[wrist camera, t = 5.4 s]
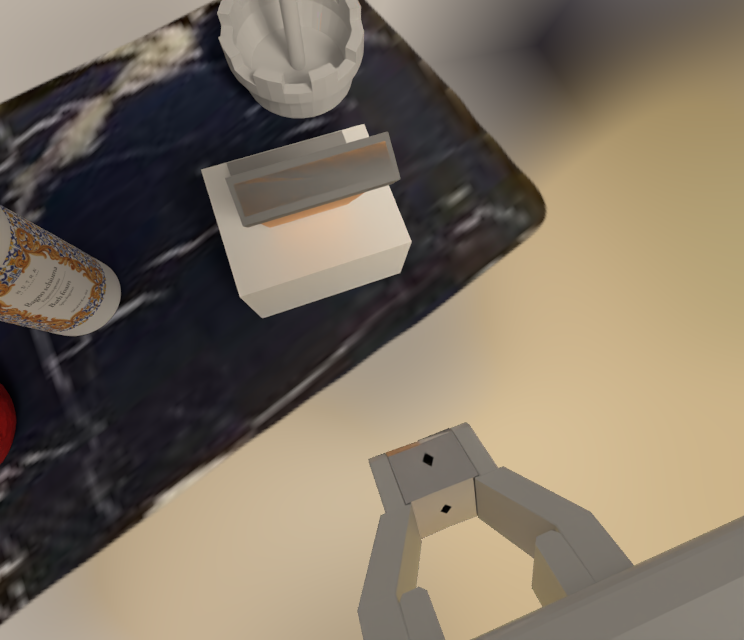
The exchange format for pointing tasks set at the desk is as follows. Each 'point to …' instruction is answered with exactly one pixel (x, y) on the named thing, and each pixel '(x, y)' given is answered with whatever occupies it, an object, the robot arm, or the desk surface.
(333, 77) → the flag stand
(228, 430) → the desk surface
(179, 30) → the desk surface
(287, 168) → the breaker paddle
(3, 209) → the bath foam
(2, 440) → the pomegranate
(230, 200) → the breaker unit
